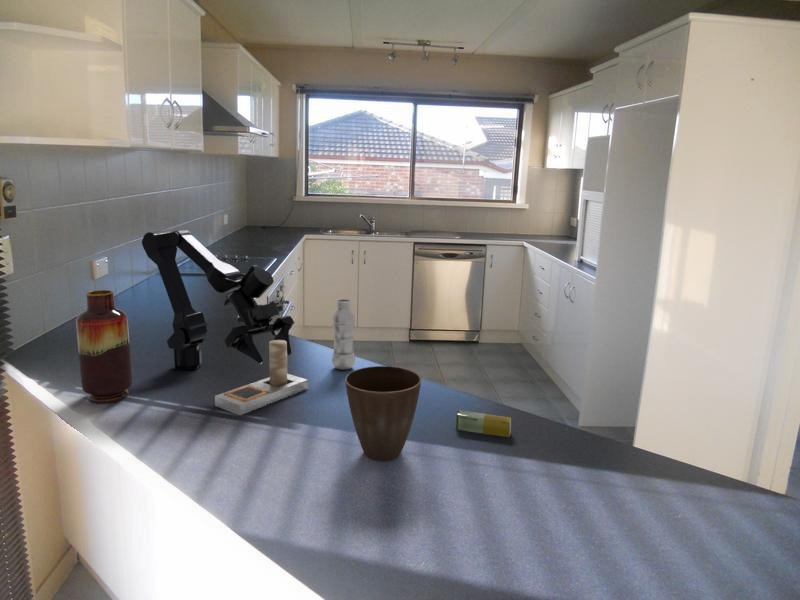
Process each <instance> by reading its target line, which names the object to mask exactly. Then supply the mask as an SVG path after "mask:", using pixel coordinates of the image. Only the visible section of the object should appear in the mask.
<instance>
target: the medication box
mask: <svg viewBox="0 0 800 600" xmlns="http://www.w3.org/2000/svg"><path fill="white" fill-rule="evenodd" d="M455 418H456V421H455V423H456V424H455V430H457V431H463V432H470V433H471V432H472V433H477V434H484V435H489V436H490V435H491V436H497V437H505V438H511V428H512V417H509V416H503V415H502V416H501V415H494V414H489V413H488V414H487V413H481V412H476V411H475V412H474V411H469V410H461V409H459V410H457V412H456V417H455Z"/></svg>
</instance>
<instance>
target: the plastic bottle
mask: <svg viewBox="0 0 800 600" xmlns="http://www.w3.org/2000/svg"><path fill="white" fill-rule="evenodd" d="M336 307H337V309H336V310H335V312H334V313H333V315H332V319H331V322H332V327H333V338H334V339H333V340H334V341H333V353H332V358H331V363H332V366H333V367H334V369H337V370H350V369H352V368H353V367H354V366H355V363H356V361H355V360H356V357H355V352H354V329H355V322H356V318H355V315H354V313H353V311H352V310H351V300H350V299H348V298H341V299H337V300H336Z"/></svg>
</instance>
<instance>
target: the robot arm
mask: <svg viewBox="0 0 800 600" xmlns="http://www.w3.org/2000/svg"><path fill="white" fill-rule="evenodd" d="M141 244H142V247H143V250H144V252H145V254H146V256H147V257H148V259H149V260H151V261H152V262H153V263H154V264H155V265H156V266H157V269H158V271H159V274H160V277H161V280H162V283H163V286H164V288H165V290H166V295H167V297H168V299H169V303H170V305H171V308H172V311H173V313H174V315H173V321H172V329H173V334H171V336H170V337H169V338H168V339H167V340H166V342H167V346H168V348H169V349H172V350H173V359H174V366H173V367H172V370H173V371H178V370H179V371H180V370H181V371H183V370H184V371H187V370H190V371H192V370H198V369H199V367H200V366H201V364H202V362H203V360H202V348H200V344H203V343H204V340H205V337H206V335H207V333H208V328H207V326H208V323H207V321H206V319H205V317H204V314H203V313H204V312H202V311H199V312H197V311H196V310H195V309H194V308H193V306H192V303H191V301H190V298H189V295H188V292H187V290H186V286H185V284H184V280H183V278H182V275H181V272H180V270H179V269H180V268H179V266H178V264H177V261H176V259H177V253H178V249H179V250H180V251H182V253H183V254H185V255H186V256H187V257H188V259H190V260H191V261H192V262H193V263H194V264H195V265H196V266H197V267H199V268H200V269H201V271H203V272H204V274H205V275H206V278H207V279H206V280H207V282H208V283H209V284H210V286H211V287H212V288H213V289H214V290H215V292H217V293H218V294H223V293H229V292H231V293H230V294H227V295H225V300H224V301H223V302H224V303H223V304H224V306H226V307H227V306H232V307H233V309H234V312H236V314H237V316H238V319H237V322H238V324H243V325H239V326H235V327H232V328H231V329H230V331H229V332H228V333H227V334H226V336H225V337H224V343H225V345H226V347H227V349H233V350H234V351H239V352H240V353H242V354H244V355H246V356H247V357H249V358H251V359H252V360H254V361H255V362H257V363H259V364H260V365H261V364H262V363H263V362H264V360H263V357H262V356H261V354H260V352H259V350H258V348H257V346H256V345H255V343H254V338H253V337H257V336H260V335H263V334H268V333H271V335H272V336H274V338H273V339H274V340H284V341H286V342H287V356H290V355H291V354H292V349H291V342H290V335H289V333H290V330H291V329H292V327H293V325H294V324H295V321H294V319H293V317H292V316H291V315H284V316H280V317H277V318H276V319H275V321H274V322H273V323H270V322H272V321H273V317H275V316H279V315H280V312H282V311H283V306H282V304H281V301H279V299H273V300H272V301H269V303H265V304H258V303H257V301H256V299H260V298H262V296H263V295H264V294H265V293H266V292H267V290H268V289H270V288H271V286H272V285H273V284H274V283H275V282H274V278H273V276H272V274H271V272H268V271H267V270H266V269H264V268H261V267H260V266H259V265H252V266H251V267H250V268H249V269H248V271H247V272H246V273H241V271H240V269H237V268H236V267H235V266H233V265H231V264H229V263H227V262H224V261H221V260H220V259H218V258H217V257H216V256H215V255H214V254H213V253H212V252H211V251H210V250H209V249H208V248H206V247H205V246H204V245H203V244H202V243H201V242H200V241H199V240H198V239H197V238H196V237H195V236H193V233H192V232H191V231H190V230H187V229H180V230H174V231H171V232H170V231H169V230H159V231H149V232H148V231H147V232H146V233H145V234H144V235H143V238H142V239H141Z"/></svg>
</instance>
